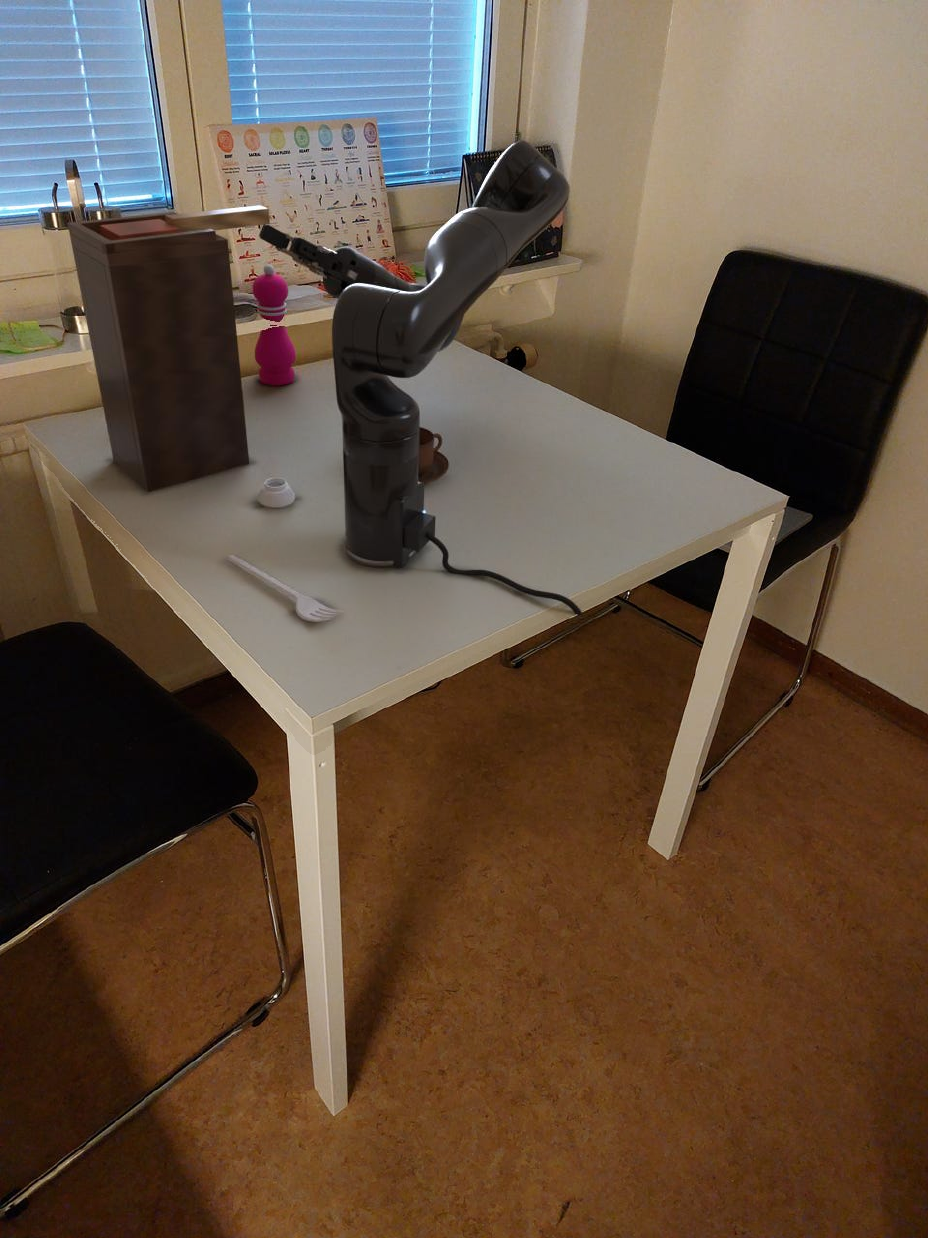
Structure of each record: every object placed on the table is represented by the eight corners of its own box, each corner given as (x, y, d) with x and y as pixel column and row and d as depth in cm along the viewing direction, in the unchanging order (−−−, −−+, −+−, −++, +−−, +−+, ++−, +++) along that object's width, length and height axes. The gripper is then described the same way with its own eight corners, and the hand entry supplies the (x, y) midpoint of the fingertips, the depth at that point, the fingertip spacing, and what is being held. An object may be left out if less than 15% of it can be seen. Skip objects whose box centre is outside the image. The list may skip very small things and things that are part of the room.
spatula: (254, 217, 126) (253, 202, 125) (276, 226, 123) (275, 210, 122) (101, 235, 114) (98, 218, 113) (121, 245, 111) (118, 228, 110)
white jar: (300, 496, 127) (269, 490, 128) (299, 478, 125) (267, 471, 127) (284, 512, 123) (252, 505, 124) (283, 493, 122) (250, 486, 123)
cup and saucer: (398, 449, 141) (398, 412, 138) (463, 470, 137) (465, 432, 133) (352, 477, 133) (351, 438, 129) (420, 500, 128) (421, 461, 125)
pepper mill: (301, 373, 165) (295, 260, 153) (291, 388, 159) (284, 271, 148) (263, 370, 165) (253, 257, 154) (251, 384, 160) (241, 268, 148)
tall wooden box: (211, 435, 142) (184, 210, 123) (249, 463, 135) (226, 229, 115) (113, 460, 133) (67, 222, 114) (148, 491, 126) (105, 243, 107)
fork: (240, 556, 114) (239, 543, 113) (347, 622, 104) (347, 609, 102) (219, 565, 112) (217, 552, 111) (326, 634, 102) (326, 620, 100)
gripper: (343, 248, 142) (261, 200, 130) (397, 269, 134) (315, 221, 122) (325, 293, 144) (242, 250, 132) (377, 317, 136) (293, 274, 123)
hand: (277, 236), depth 127 cm, fingers open, 8 cm apart
